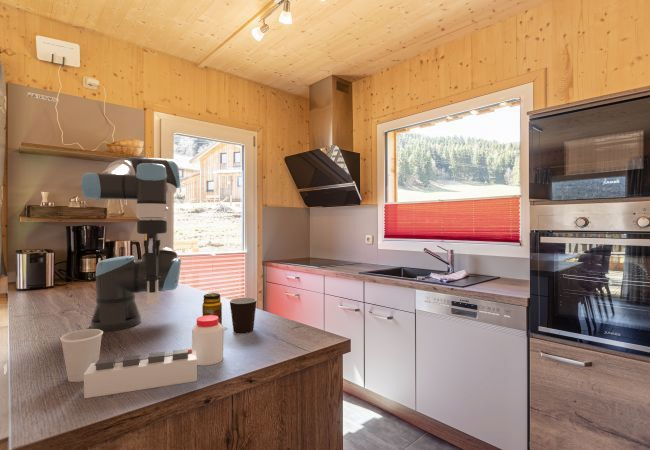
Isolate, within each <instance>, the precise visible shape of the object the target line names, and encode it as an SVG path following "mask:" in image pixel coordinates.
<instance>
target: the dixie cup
mask: <svg viewBox="0 0 650 450" xmlns="http://www.w3.org/2000/svg"><path fill="white" fill-rule="evenodd" d="M103 334H104V331H102V330H99V329H91V328H86V329H79V330H75V331H71V332H67V333H65V334H63V335H61V336H60V339H59V340H60V341H61V345H62V347H61V348H62V353H63V359H64V363H65V369H66V376H67V380H68V382H70V383H80V382H84V373H85V372H86V370H87V369H88V367H89V366H90V364H91V363H96V362H97V361H98V360H100V354H101V344H102V338H103V337H102V336H103Z"/></svg>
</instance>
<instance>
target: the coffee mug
mask: <svg viewBox="0 0 650 450" xmlns="http://www.w3.org/2000/svg"><path fill="white" fill-rule="evenodd" d="M257 301H258V300H257V298H255V297H247V296H246V297H235V298H232V299H230V300H229V305H230V314H231V315H230V316H231V320H232V321H231V322H232V331H233V333H235V334H238V335H240V334H241V335H242V334H250V333H252V332H253V331H254V328H255V327H254V326H255V319H256V310H257V309H256V308H257Z"/></svg>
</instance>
